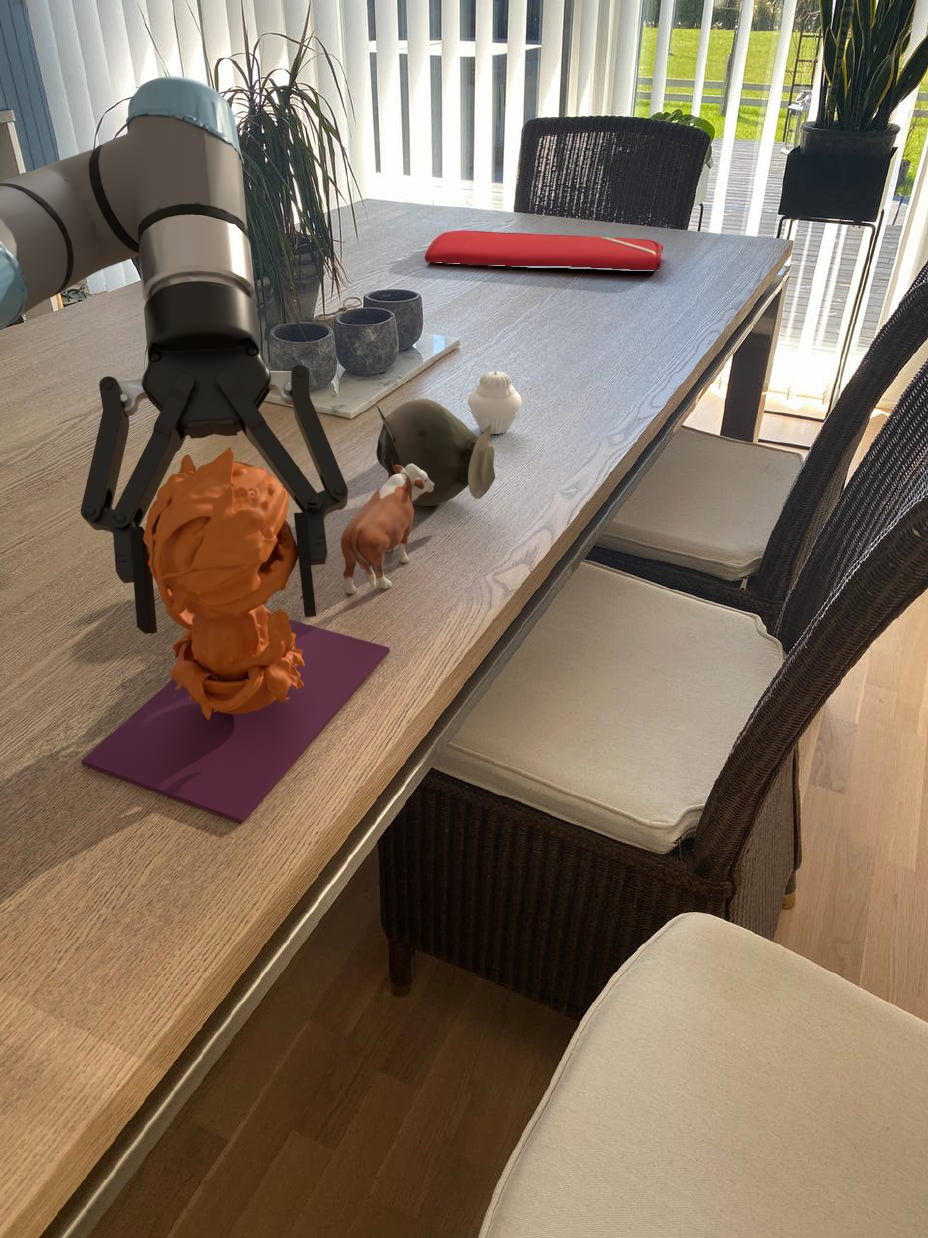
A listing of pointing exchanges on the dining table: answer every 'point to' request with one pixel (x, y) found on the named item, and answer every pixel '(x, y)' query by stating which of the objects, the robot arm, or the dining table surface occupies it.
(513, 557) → the dining table surface
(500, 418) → the muffin
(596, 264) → the dish drying mat
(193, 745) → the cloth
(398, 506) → the bull figurine
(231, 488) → the orange character figurine
